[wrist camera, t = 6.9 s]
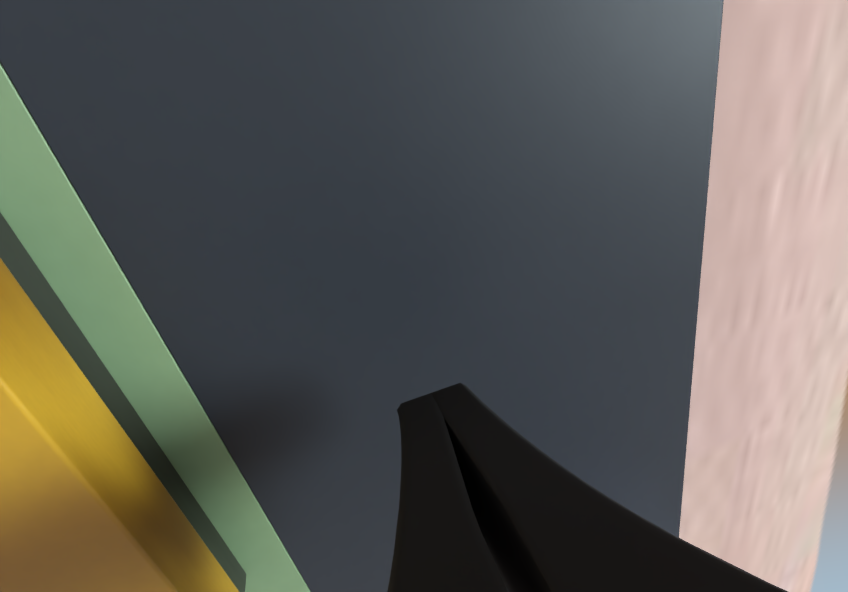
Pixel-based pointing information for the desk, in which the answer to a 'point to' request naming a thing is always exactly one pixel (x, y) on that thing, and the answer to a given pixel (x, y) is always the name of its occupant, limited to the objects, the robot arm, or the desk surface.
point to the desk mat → (369, 239)
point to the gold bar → (85, 464)
